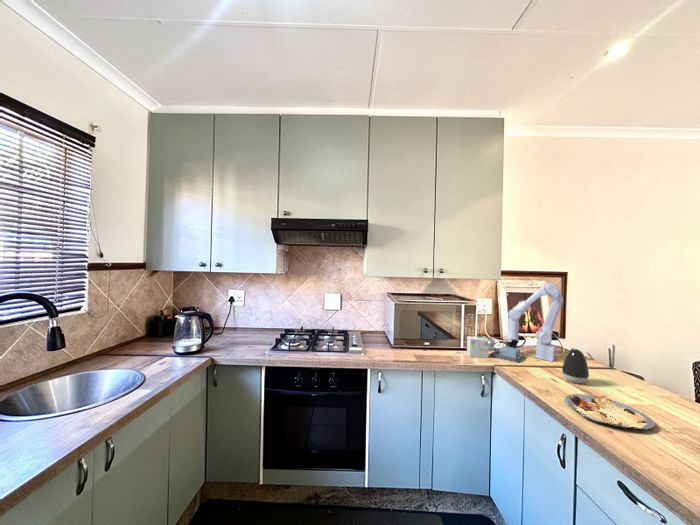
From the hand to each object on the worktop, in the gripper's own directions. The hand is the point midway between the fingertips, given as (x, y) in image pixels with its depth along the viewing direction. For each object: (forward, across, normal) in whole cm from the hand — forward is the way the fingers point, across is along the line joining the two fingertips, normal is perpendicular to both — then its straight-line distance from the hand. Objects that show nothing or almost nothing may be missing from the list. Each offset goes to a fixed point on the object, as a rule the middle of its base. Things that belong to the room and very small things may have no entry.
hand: (512, 351), depth 187 cm
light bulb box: (+2, +21, -13) cm, 25 cm away
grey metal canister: (+1, 0, -13) cm, 13 cm away
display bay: (+1, +10, 0) cm, 10 cm away
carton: (+1, +6, 0) cm, 6 cm away
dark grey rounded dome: (+1, +25, +34) cm, 42 cm away
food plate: (+2, +56, +48) cm, 74 cm away
